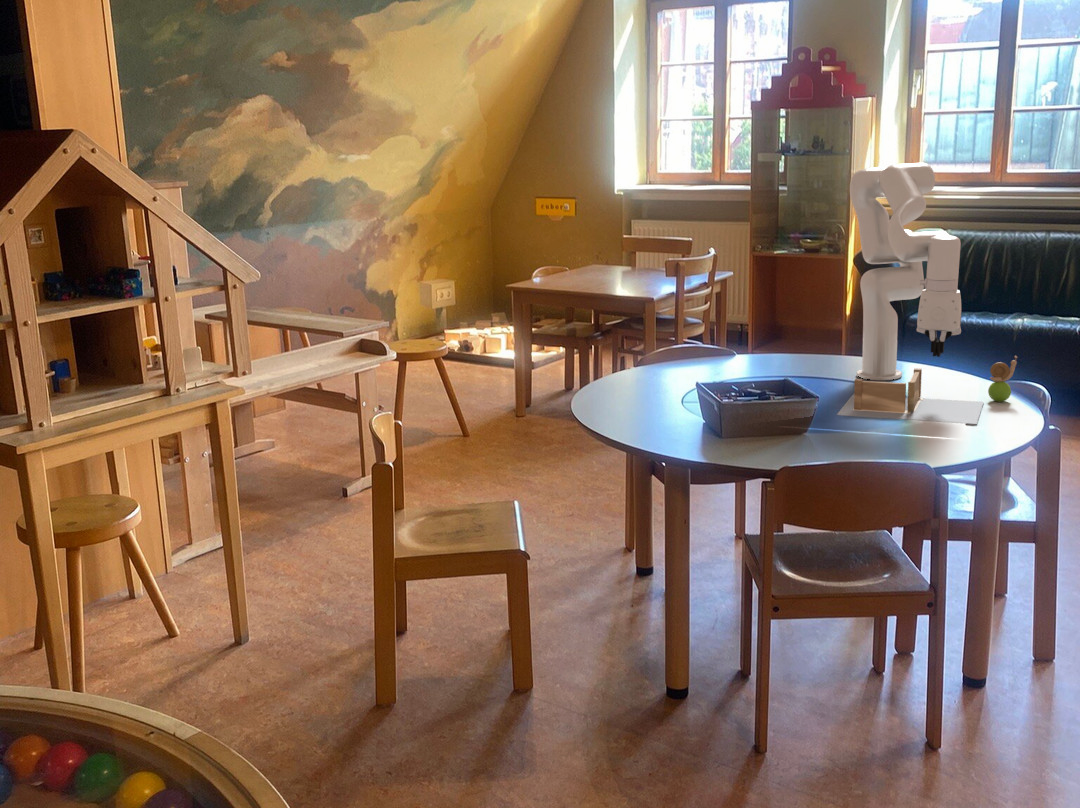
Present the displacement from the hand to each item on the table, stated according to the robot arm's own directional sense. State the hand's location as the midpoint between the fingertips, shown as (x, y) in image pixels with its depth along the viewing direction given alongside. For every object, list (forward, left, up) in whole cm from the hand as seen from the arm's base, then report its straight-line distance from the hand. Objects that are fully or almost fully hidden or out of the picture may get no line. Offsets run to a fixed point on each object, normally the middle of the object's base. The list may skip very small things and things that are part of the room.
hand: (936, 355), depth 266 cm
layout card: (+8, -5, -13) cm, 16 cm away
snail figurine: (-6, +15, -13) cm, 21 cm away
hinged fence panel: (+4, -5, -12) cm, 14 cm away
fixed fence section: (+12, -12, -13) cm, 21 cm away
